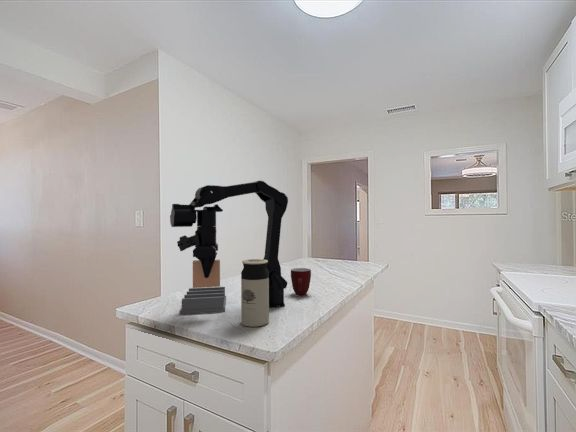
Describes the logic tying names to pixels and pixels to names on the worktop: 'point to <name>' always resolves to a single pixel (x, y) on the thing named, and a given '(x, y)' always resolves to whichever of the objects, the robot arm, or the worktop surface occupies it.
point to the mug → (300, 280)
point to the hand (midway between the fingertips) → (206, 276)
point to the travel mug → (254, 293)
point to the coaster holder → (204, 300)
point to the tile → (199, 277)
